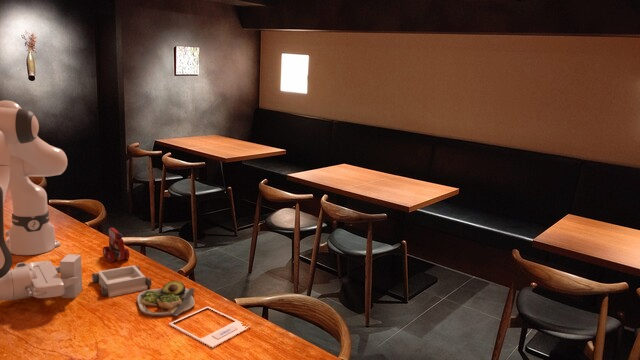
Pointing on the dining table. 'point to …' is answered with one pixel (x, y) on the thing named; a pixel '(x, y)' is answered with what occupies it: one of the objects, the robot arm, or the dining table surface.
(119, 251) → the toy fire truck
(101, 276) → the chassis
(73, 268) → the skincare box
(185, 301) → the avocado toast plate
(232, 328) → the photo frame
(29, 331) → the dining table surface
